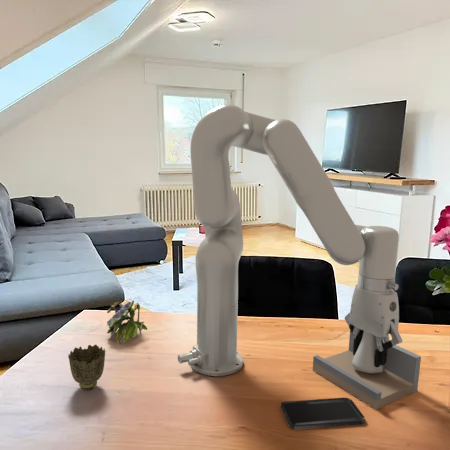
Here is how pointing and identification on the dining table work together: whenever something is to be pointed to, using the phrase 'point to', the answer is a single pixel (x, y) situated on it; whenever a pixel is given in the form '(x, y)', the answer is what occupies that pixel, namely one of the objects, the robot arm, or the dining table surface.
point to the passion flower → (130, 325)
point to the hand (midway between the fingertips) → (368, 358)
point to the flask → (366, 354)
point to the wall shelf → (373, 375)
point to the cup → (87, 365)
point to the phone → (321, 413)
